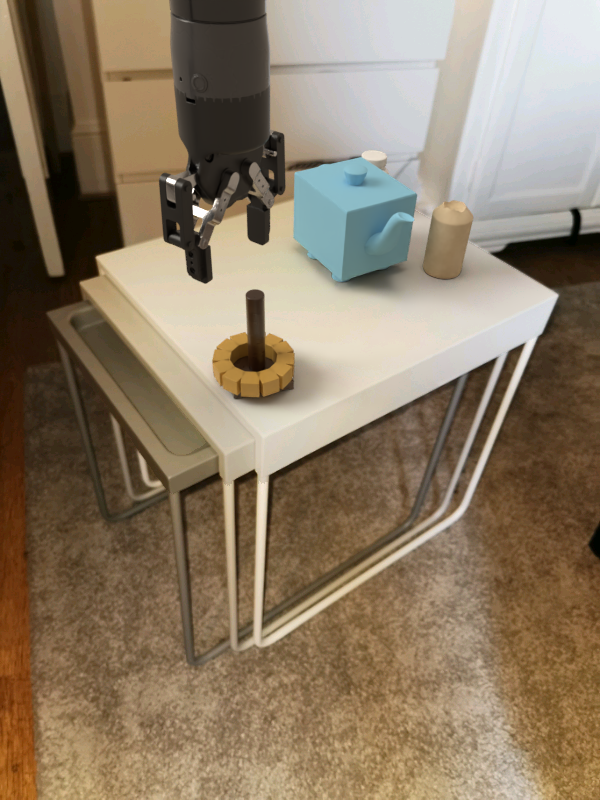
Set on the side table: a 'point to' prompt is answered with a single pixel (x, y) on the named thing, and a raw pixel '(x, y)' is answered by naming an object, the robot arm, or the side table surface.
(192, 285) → the side table surface
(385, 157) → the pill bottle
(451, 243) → the candle
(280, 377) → the ring
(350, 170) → the teapot
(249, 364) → the post
